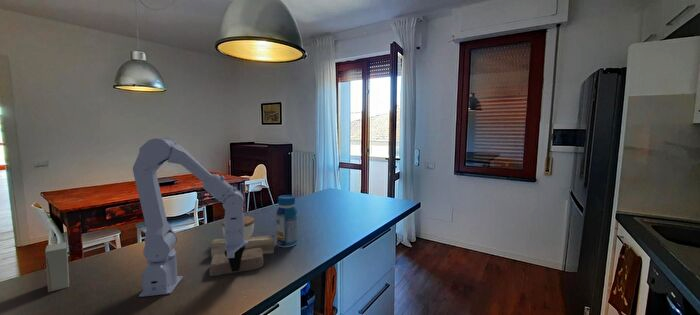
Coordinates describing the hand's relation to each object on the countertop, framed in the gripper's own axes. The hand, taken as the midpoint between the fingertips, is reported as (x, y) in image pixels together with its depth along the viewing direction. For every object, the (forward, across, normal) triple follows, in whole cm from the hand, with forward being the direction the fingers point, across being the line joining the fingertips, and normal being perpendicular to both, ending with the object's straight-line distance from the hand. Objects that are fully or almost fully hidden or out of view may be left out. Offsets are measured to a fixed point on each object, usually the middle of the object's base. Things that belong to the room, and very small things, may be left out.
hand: (235, 270), depth 90 cm
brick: (+2, +6, 0) cm, 6 cm away
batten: (+2, +17, 0) cm, 17 cm away
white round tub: (+2, +30, +4) cm, 30 cm away
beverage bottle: (+2, +23, -16) cm, 28 cm away
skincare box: (+2, +4, +50) cm, 50 cm away
